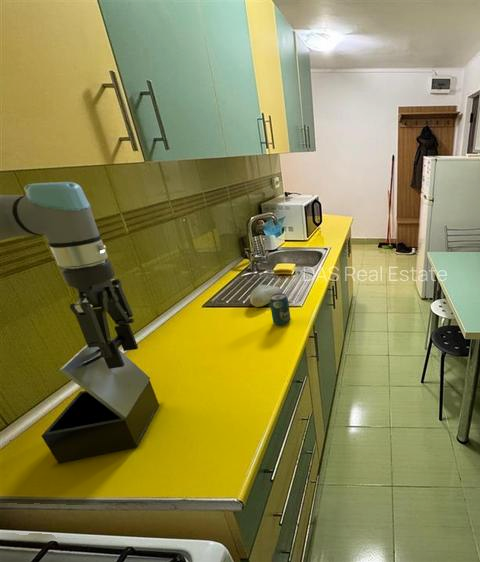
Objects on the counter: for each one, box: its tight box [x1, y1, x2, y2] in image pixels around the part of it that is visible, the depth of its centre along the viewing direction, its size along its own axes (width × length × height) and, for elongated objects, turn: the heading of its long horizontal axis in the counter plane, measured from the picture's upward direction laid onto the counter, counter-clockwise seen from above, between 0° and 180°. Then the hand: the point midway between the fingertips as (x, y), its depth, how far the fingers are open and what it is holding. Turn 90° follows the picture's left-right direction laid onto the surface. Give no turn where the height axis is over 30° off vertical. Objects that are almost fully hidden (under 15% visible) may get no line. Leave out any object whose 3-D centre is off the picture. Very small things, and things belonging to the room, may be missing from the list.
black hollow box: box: [40, 379, 160, 464], centre depth 74 cm, size 16×14×9 cm
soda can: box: [269, 292, 292, 327], centre depth 122 cm, size 7×7×12 cm
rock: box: [249, 284, 282, 308], centre depth 141 cm, size 8×11×20 cm
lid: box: [59, 335, 151, 419], centre depth 71 cm, size 17×14×7 cm
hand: (124, 357), depth 70 cm, fingers closed on lid, 6 cm apart
